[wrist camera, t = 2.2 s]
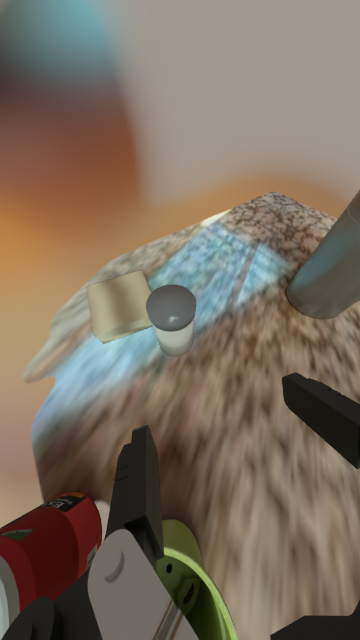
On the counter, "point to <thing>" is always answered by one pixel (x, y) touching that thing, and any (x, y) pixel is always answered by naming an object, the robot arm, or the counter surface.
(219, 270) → the counter surface
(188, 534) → the plant pot
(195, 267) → the counter surface
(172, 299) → the spice jar
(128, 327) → the maple base
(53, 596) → the canned food
